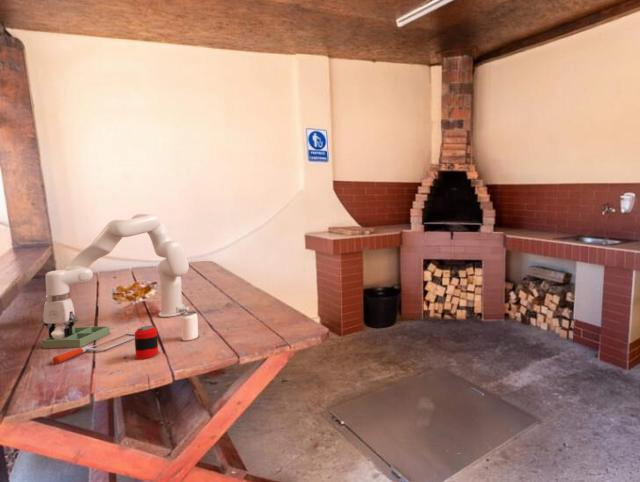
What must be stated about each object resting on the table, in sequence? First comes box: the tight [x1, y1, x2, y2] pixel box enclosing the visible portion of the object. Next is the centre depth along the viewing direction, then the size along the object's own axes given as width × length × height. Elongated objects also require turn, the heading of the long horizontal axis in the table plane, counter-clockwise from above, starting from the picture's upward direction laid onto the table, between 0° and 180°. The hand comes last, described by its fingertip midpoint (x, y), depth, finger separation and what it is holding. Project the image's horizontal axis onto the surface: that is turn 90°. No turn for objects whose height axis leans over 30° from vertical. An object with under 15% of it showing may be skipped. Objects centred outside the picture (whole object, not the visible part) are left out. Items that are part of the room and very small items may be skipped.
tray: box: [41, 325, 111, 349], centre depth 183 cm, size 16×16×4 cm
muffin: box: [51, 324, 66, 340], centre depth 179 cm, size 6×6×7 cm
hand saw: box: [52, 331, 135, 365], centre depth 174 cm, size 33×3×10 cm
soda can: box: [134, 325, 159, 360], centre depth 166 cm, size 8×8×12 cm
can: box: [180, 310, 199, 342], centre depth 184 cm, size 6×6×12 cm
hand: (60, 335), depth 179 cm, fingers closed on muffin, 6 cm apart
